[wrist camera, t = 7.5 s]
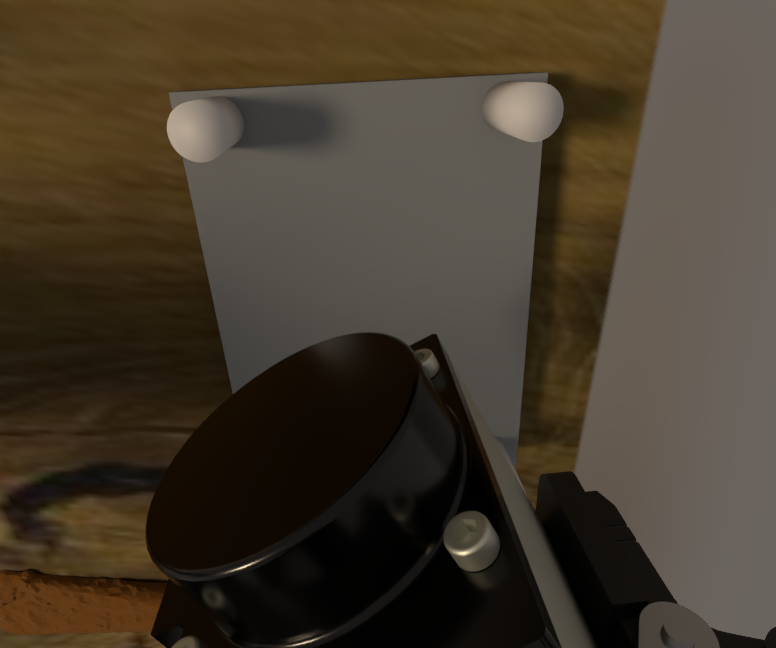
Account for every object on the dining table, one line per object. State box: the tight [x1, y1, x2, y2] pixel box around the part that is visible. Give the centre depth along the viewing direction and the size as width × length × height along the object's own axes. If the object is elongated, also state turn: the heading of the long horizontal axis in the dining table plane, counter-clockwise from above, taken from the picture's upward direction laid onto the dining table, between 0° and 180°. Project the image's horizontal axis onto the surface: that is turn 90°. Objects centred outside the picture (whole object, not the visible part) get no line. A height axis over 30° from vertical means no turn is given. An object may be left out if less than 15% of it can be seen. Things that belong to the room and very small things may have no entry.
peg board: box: [167, 72, 564, 494], centre depth 22 cm, size 19×14×5 cm
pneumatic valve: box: [146, 332, 598, 648], centre depth 11 cm, size 6×12×12 cm, turn 28°
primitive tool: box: [0, 570, 167, 636], centre depth 31 cm, size 19×6×4 cm, turn 89°
